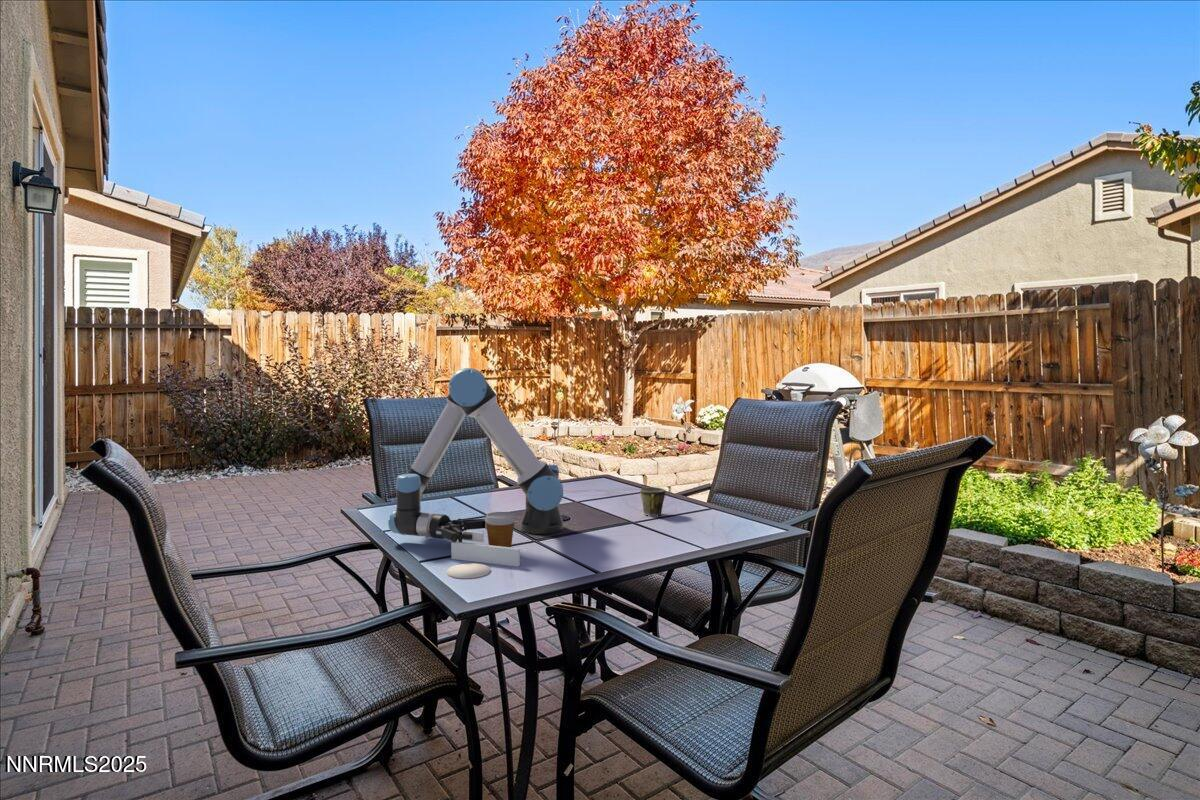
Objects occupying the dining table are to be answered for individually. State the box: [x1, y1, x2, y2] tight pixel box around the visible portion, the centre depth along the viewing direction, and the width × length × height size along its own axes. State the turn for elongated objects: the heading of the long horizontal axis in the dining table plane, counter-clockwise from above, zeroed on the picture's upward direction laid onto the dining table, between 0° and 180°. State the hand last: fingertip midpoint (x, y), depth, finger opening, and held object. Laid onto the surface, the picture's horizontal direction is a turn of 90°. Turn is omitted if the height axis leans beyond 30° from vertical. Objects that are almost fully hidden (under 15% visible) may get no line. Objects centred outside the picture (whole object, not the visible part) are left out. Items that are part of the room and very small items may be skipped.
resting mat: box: [446, 562, 491, 580], centre depth 183 cm, size 12×12×1 cm
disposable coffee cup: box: [483, 511, 517, 548], centre depth 201 cm, size 10×10×12 cm
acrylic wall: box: [450, 541, 521, 568], centre depth 192 cm, size 22×1×5 cm, turn 71°
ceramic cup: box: [639, 486, 667, 517], centre depth 253 cm, size 13×10×10 cm
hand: (494, 531), depth 201 cm, fingers open, 13 cm apart
